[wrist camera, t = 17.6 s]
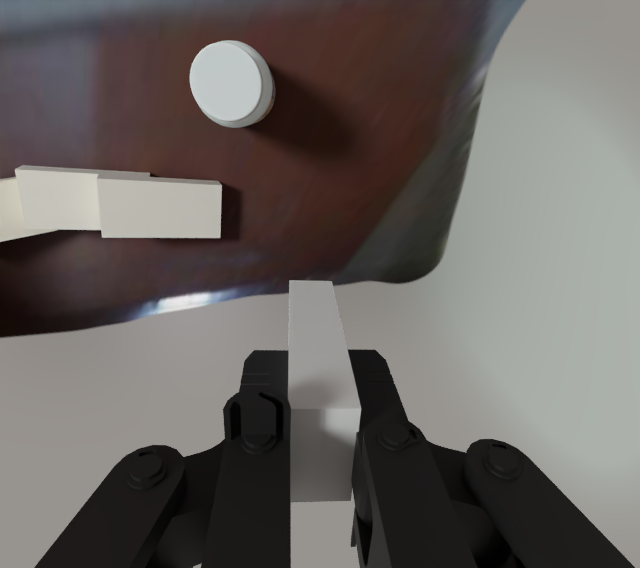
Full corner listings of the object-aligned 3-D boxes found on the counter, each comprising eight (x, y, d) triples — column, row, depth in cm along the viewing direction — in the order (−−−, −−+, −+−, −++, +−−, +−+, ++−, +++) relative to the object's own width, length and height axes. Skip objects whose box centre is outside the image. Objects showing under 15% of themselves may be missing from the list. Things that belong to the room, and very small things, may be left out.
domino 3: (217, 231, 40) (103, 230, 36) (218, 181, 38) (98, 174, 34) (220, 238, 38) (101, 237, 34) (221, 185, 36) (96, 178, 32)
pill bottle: (272, 129, 37) (266, 136, 27) (208, 119, 36) (180, 124, 27) (279, 58, 34) (274, 41, 25) (210, 46, 34) (181, 24, 25)
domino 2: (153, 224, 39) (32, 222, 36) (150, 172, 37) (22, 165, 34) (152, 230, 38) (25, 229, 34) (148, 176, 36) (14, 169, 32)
